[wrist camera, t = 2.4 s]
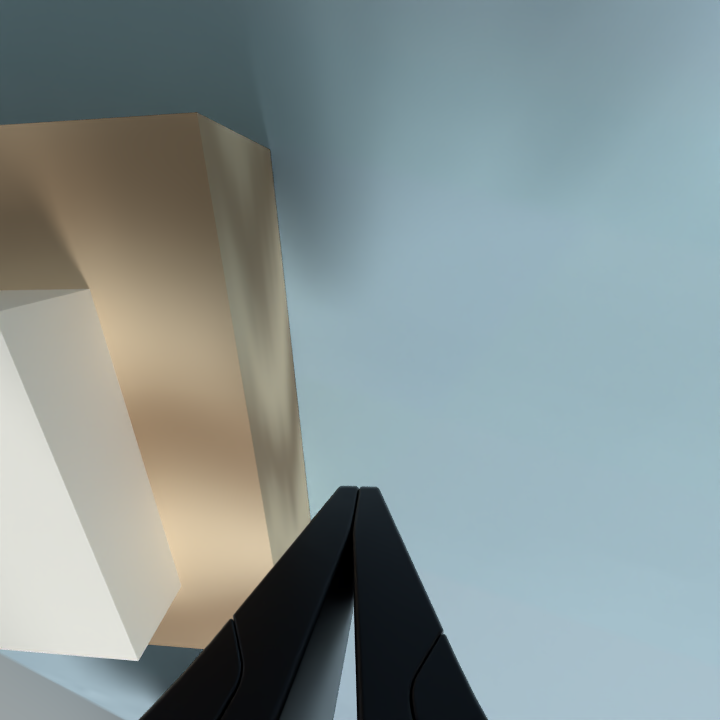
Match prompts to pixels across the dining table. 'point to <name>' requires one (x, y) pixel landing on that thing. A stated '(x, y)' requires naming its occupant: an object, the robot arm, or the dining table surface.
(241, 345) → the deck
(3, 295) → the white box
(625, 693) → the dining table surface
